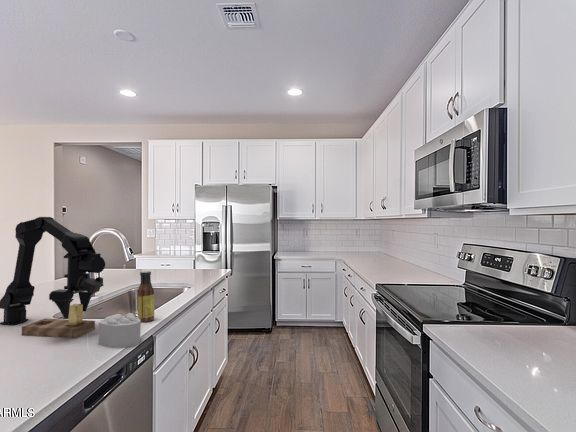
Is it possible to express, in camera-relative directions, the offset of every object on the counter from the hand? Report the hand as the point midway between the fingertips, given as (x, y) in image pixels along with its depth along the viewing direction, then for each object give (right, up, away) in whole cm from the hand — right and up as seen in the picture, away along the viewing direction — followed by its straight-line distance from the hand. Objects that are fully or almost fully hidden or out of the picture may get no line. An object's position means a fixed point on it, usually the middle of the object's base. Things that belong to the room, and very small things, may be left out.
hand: (75, 314), depth 122 cm
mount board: (-6, -6, 0) cm, 9 cm away
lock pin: (0, -7, 0) cm, 6 cm away
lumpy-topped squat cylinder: (+20, -7, -8) cm, 23 cm away
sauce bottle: (+18, -7, +16) cm, 26 cm away
